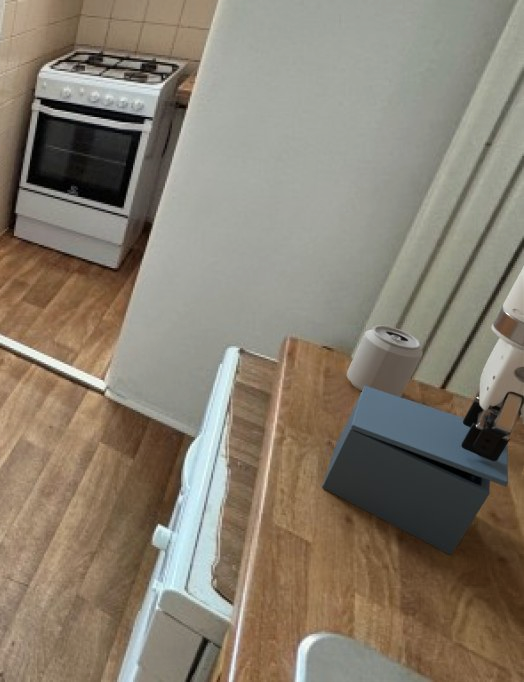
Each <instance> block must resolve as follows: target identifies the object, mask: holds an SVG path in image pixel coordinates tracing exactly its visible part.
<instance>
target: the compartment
mask: <svg viewBox="0 0 524 682" xmlns="http://www.w3.org/2000/svg"><path fill="white" fill-rule="evenodd" d="M361 393H362V392H361V391H360V394H359V396H358V397H357V400H356V402H355V404H354V407H353V408H352V410H351V413H350V414H349V417H348V419H347V421H346V422H345V425H344V427H343V430H341V433H340V435H339V438H338V440H337V442H336V444H335V447H334V450H333V453H332V455H331V458H330V461H329V465H328V468H327V470H326V473H325V477H324V480H323V483H322V486H321V488H322V489H324V490H326V492H327V491H328V492H330V493H331V494H333V495H335V496H337V497H339V498H341V499H343V500H344V501H347V502H348V503H351V504H352V505H354V506H356V507H358V508H360V509H362V510H364V511H366V512H368V513H370V514H371V515H373V516H375V517H377V518H378V519H381V520H383V521H384V522H386V523H389V524H390V525H392V526H394V527H396V528H398V529H400V530H402V531H403V532H406V533H408V534H409V535H411V536H413V537H415V538H417V539H418V540H421V541H422V542H424V543H426V544H428V545H431V546H432V547H434V548H436V549H438V550H440V551H442V552H444V553H446V554H447V555H450V556H452V554H453V553H454V551H455V550H456V549H457V546H458V545H459V543H460V542H461V540H462V539H463V537H464V535H465V534H466V532H467V531H468V529H469V527H470V525H471V524H472V523H473V521H474V519H476V516H477V515H478V513H479V512H480V510H481V508H482V507H483V505H484V503H485V502H486V501H487V499H488V497H489V495H490V494H491V481H489V480H487V479H484V478H481V477H479V476H476V475H473V474H471V473H468V472H465V471H463V470H460V469H457V468H454V467H452V466H449V465H446V464H444V463H441V462H438V461H436V460H433V459H430V458H427V457H425V456H422V455H419V454H417V453H414V452H411V451H409V450H406V449H403V448H401V447H398V446H395V445H392V444H390V443H387V442H384V441H382V440H379V439H376V438H374V437H371V436H368V435H366V434H363V433H360V432H357V431H355V430H352V429H351V426H352V423H353V419H354V416H355V413H356V410H357V406H358V403H359V400H360V397H361Z"/></svg>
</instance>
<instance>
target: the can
mask: <svg viewBox="0 0 524 682" xmlns="http://www.w3.org/2000/svg"><path fill="white" fill-rule="evenodd" d="M421 347H422V343H421V342H420V340H419V339H418V338H416V337H415V336H414V335H413V334H411V333H409V332H406V331H405V330H402V329H399V328H396V327H394V326H389V325H383V324H379V325H378V324H377V325H375V326H373V327H372V329H367V330H366V331H365V332H364V334H363V336H362V339H361V341H360V343H359V345H358V347H357V349H356V352H355V354H354V356H353V357H352V360H351V363H350V365H349V367H348V369H347V371H346V377H347V380H348V381H350V383H351V385H352V386H353V387H355V388H356V389H357V390H358V391H360V392H361V391H362V390H363V387H364V386H368V387H371V388H374V389H377V390H380V391H383V392H386V393H389V394H392V395H395V396H398V397H401V398H402V396H403V394H404V392H405V390H406V388H407V386H408V384H409V383H410V381H411V378H412V376H413V375H414V372H415V371H416V369H417V367H418V364H419V363H420V361H421V359H422V358H423V353H424V352H423V350H422V349H421Z"/></svg>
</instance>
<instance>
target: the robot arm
mask: <svg viewBox="0 0 524 682" xmlns="http://www.w3.org/2000/svg"><path fill="white" fill-rule="evenodd" d="M506 296H507V297H506V298H505V300H504V302H503V304H502V306H501V308H500V310H499V312H498V313H497V315H496V317H495V319H494V321H493V322H492V324H491V326H490V329H491V331H492V333H494V335H496V336H497V337H498V340H497V341H496V344H495V345H494V347H493V349H492V351H491V352H490V355H489V357H488V359H487V360H486V363H485V365H484V366H483V369H482V372H481V375H480V380H479V393H478V395H477V397H476V400H473V401H472V403H471V405H470V407H469V408H468V410H467V412H466V414H465V416H464V417H463V418H464V420H463V424H464V425H466V426H468V427H470V429H469V431H468V433H467V435H466V436H465V438H464V440H463V442H462V445H461V446H462V448H464V449H466V450H468V451H470V452H473V453H475V454H477V455H480V456H482V457H484V458H487V459H489V460H492V461H497V460H498V458H499V457H500V455H501V453H502V452H503V450H504V448H505V447H506V445H507V443H508V444H509V442H510V440H511V436H512V434H513V432H514V430H515V429H516V426H517V424H518V422H519V420H520V418H521V421H522V425H523V426H524V266H522V268H521V270H520V272H519V274H518V276H517V278H516V279H515V281H514V283H513V285H512V287H511V289H510V291H509V293H508V295H506ZM482 411H483V412H482ZM479 412H482V414H481V416H480V418H479V420H478V413H479ZM490 414H492V415H495V416H497V418H496V420H494V421H493V420H489V421H487V420H488V418H489V416H490Z"/></svg>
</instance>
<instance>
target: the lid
mask: <svg viewBox="0 0 524 682" xmlns="http://www.w3.org/2000/svg"><path fill="white" fill-rule="evenodd" d="M360 394H361V397H360V400H359V403H358V406H357V410H356V413H355V416H354V419H353V423H352V426H351V429H352V430H355V431H357V432H360V433H363V434H366V435H368V436H371V437H374V438H376V439H379V440H382V441H384V442H387V443H390V444H392V445H395V446H398V447H401V448H403V449H406V450H409V451H411V452H414V453H417V454H419V455H422V456H425V457H427V458H430V459H433V460H436V461H438V462H441V463H444V464H446V465H449V466H452V467H454V468H457V469H460V470H463V471H465V472H468V473H471V474H473V475H476V476H479V477H481V478H484V479H487V480H489V481H490V482H492V483H495V484H498V485H500V486H503V487H507V486H508V484H509V442H508V443H507V445H506V447H505V448H504V450H503V452H502V453H501V455H500V457H499V458H498V460H497V461H492V460H489V459H487V458H484V457H482V456H480V455H477V454H475V453H473V452H470V451H468V450H466V449H464V448H462V446H461V445H462V442H463V440H464V438H465V436H466V435H467V433H468V431H469V429H470V427H468V426H466V425H464V424H463V420H464V418H465V417H463V416H459V415H456V414H453V413H450V412H447V411H445V410H441V409H437V408H434V407H432V406H428V405H427V404H426V405H425V404H422V403H419V402H417V401H413V400H410V399H408V398H404V397H402V396H401V397H398V396H395V395H392V394H389V393H386V392H383V391H380V390H377V389H374V388H371V387H368V386H364V387H363V390H362V393H361V392H360ZM482 412H483V411H482ZM482 412H479V413H478V420H479V418H480V416H481V414H482ZM496 418H497V416H495V415H492V414H490V416H489V418H488V420H487V421H489V420H493V421H494V420H496Z"/></svg>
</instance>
